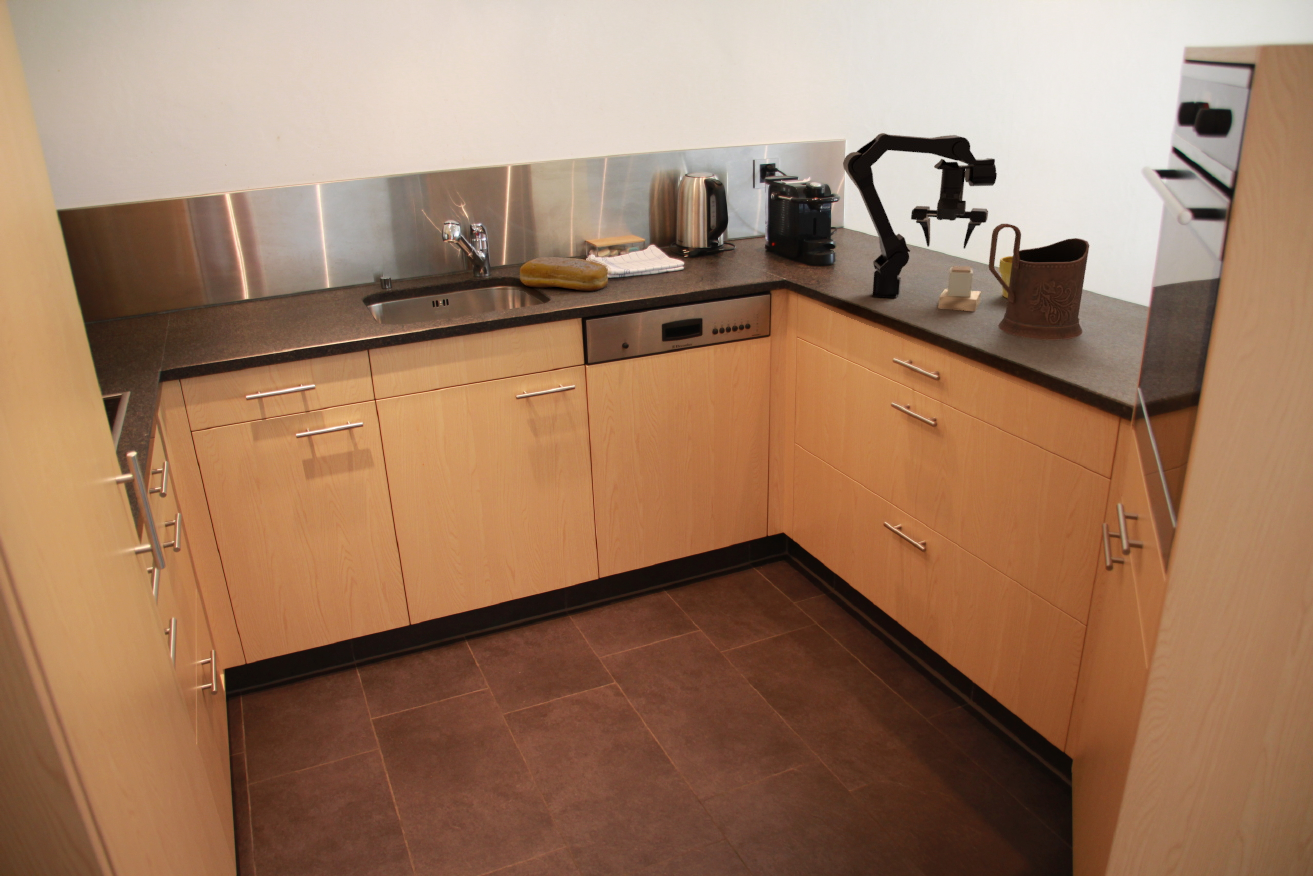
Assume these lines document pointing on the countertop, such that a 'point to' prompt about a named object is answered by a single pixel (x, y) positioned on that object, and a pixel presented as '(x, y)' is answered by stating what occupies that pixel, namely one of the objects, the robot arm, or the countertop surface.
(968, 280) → the cream lidded box
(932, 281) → the countertop surface
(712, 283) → the countertop surface
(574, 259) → the bread
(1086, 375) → the countertop surface
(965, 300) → the beech block
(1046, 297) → the cup holder
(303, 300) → the countertop surface
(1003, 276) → the plant pot
